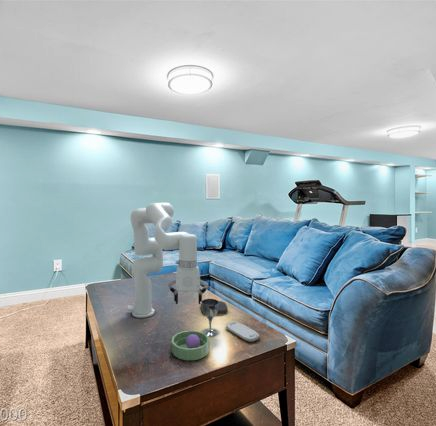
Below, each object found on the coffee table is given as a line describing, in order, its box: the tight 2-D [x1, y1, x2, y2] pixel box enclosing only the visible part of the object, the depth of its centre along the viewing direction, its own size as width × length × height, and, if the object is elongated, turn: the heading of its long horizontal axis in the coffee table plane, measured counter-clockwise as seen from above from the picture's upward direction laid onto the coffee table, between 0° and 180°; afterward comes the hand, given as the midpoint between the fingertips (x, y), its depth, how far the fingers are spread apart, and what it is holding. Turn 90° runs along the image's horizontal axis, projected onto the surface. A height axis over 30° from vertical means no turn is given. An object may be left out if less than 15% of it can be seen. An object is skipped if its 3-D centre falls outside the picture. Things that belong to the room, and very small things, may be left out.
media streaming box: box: [200, 300, 228, 315], centre depth 157 cm, size 15×15×3 cm
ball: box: [186, 334, 200, 348], centre depth 114 cm, size 6×6×6 cm
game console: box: [225, 321, 260, 343], centre depth 128 cm, size 18×2×8 cm
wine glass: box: [201, 298, 219, 337], centre depth 129 cm, size 8×8×15 cm
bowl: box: [171, 329, 210, 361], centre depth 114 cm, size 16×16×5 cm
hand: (188, 303), depth 115 cm, fingers open, 9 cm apart
